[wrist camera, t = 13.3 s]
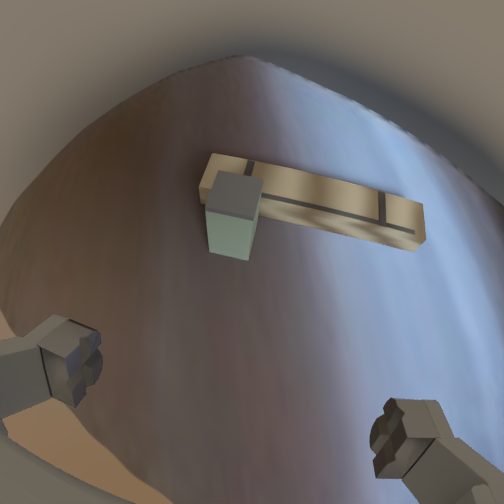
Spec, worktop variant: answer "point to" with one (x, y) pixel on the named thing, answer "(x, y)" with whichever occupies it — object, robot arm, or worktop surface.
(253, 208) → the post
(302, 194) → the maple plank
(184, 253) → the worktop surface
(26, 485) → the robot arm
